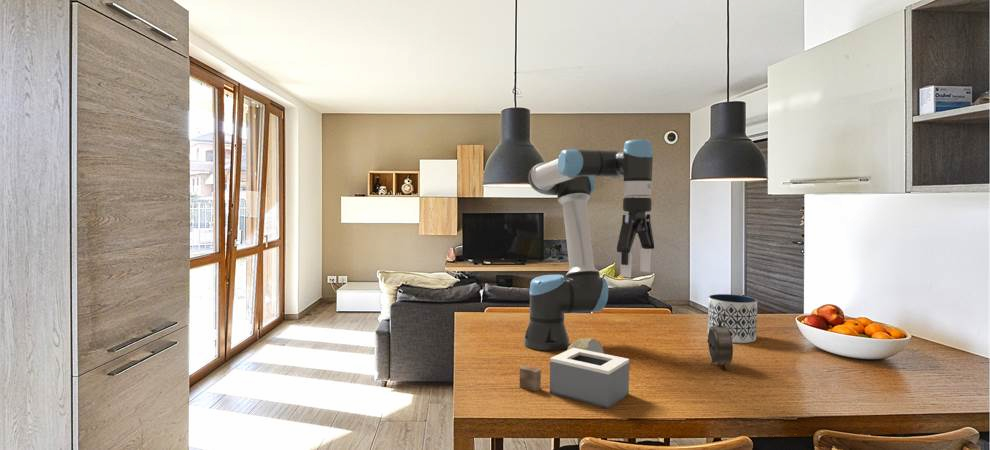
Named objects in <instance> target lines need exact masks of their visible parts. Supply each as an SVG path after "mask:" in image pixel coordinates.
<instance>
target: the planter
mask: <svg viewBox="0 0 990 450" xmlns="http://www.w3.org/2000/svg"><path fill="white" fill-rule="evenodd" d="M707 305H708V307H707V308H708V312H707V313H708V314H707V334H708V333H709V329H710V328H711V327H712V326H718V325H719V323H718V322H719V321H721V314H720V313H719V312H721V313H722V323H721V325H722V326H727V327H728V329H729V331H730V334H731V338H732V344H749V343H753V342H755V341H756V340H757V327H758V326H757V324H758V323H757V322H758V300H757V299H756V298H755V297H751V296H747V295H740V294H731V293H730V294H729V293H722V294H721V293H719V294H718V293H716V294H711V295H710V294H709V296H708V304H707ZM718 313H719V321H718Z"/></svg>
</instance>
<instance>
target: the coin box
mask: <svg viewBox="0 0 990 450" xmlns="http://www.w3.org/2000/svg"><path fill="white" fill-rule="evenodd" d="M549 361H550V362H549V394H552V395H555V396H560V397H563V398H565V399H571V400H572V401H573V400H574V401H578V402H582V403H584V404H589V405H592V406H595V405H596V406H595V407H599V406H600V407H599V408H603V409H607V410H609V409H610V408H611V407H613V406H615V404H617V403H618V402H620V401H621V400H623V399H624V398H625V397H627V396H628V395H629V391H630V390H629V388H630V387H629V386H630V385H629V384H630V358H627V357H621V356H616V355H612V354H607V353H604V354H602V353H598V352H593V351H588V350H583V349H578V348H571V349H569V350H565V351H562V352H561V353H559V354H556V355H554V356H552V357H550V358H549Z"/></svg>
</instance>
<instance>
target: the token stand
mask: <svg viewBox="0 0 990 450" xmlns="http://www.w3.org/2000/svg"><path fill="white" fill-rule="evenodd" d="M541 377H542V370H541V369H540V368H536V367H532V366H527V365H524V366H521V367H520V368H519V388H522V389H524V390H525V389H526V390H530V391H533V392H537V391H539V390H541V389H542V387H541V385H542V383H541V382H542V378H541Z"/></svg>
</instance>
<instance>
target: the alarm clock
mask: <svg viewBox="0 0 990 450" xmlns="http://www.w3.org/2000/svg"><path fill="white" fill-rule="evenodd" d="M719 313H720V314H721V321H719ZM719 313H718V321H719V322H718V323H719V325H718V326H712V327H711V328H710V329H709V333H708V332H707V341H706V342H707V345H708V352H709V355H710V358H711V361H710V362H711V363H710V366H711V365H713V363H715V364H723V366H724V370H725V371H726V372H727V371H728V365H727V364H729V365H730V364H731V363H732V361H733V356H734V354H733V352H734V345H733V344H734V343H732V338H731V334H730V331H729V329H728V327H727V326H722V325H721V323H722V313H721V312H719Z"/></svg>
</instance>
